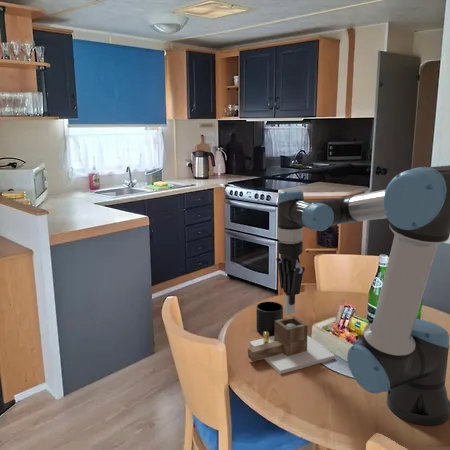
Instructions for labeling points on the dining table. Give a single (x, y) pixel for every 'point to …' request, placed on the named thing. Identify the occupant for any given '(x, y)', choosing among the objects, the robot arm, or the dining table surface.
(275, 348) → the brown wooden bracket
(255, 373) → the dining table surface
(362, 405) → the dining table surface
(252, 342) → the post board
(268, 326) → the mug
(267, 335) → the dowel pin
